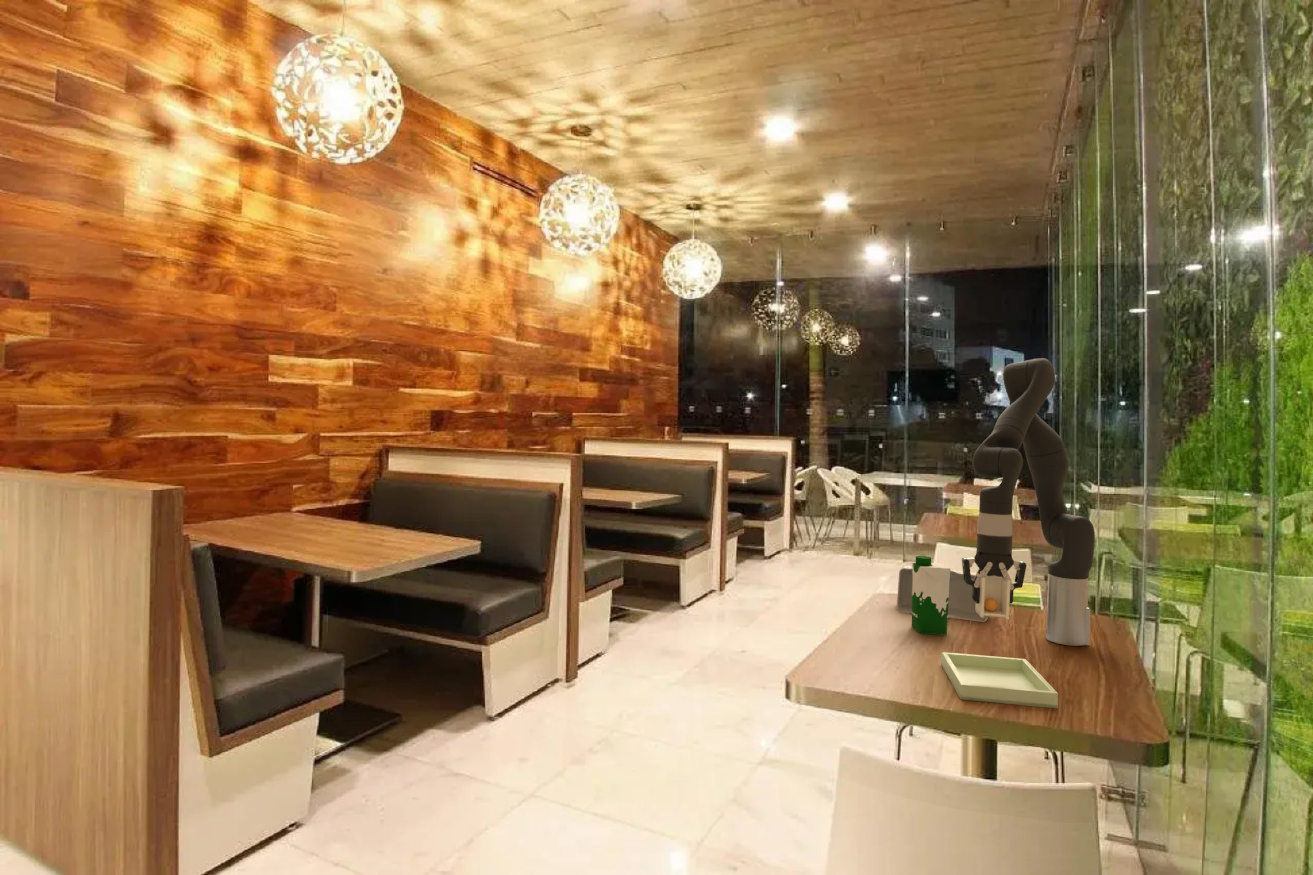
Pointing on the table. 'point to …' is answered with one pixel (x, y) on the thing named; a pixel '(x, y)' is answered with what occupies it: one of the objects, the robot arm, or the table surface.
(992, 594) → the mini side table
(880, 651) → the table surface
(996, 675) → the tray
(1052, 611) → the robot arm
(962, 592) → the grey rectangular box
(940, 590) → the milk carton
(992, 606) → the mixing ball
